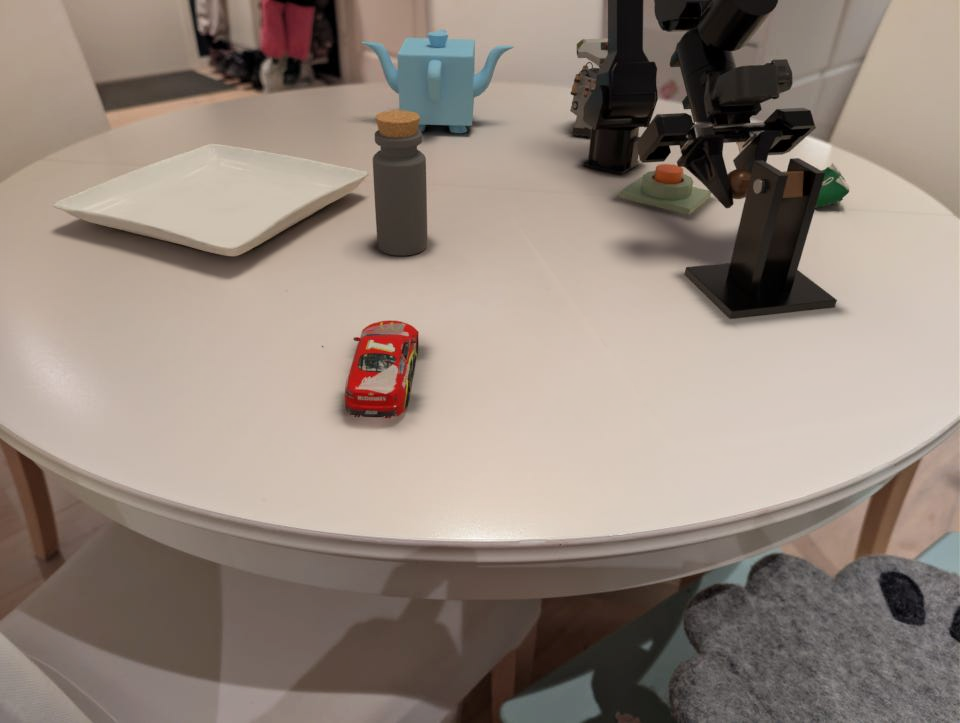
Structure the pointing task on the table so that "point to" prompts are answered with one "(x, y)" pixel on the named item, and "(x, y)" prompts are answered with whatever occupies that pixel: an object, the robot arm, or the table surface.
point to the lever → (742, 177)
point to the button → (668, 174)
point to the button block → (666, 194)
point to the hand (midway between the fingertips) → (743, 205)
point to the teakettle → (438, 78)
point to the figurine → (586, 80)
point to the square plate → (215, 197)
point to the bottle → (400, 184)
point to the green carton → (832, 187)
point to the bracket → (768, 249)
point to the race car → (382, 370)
